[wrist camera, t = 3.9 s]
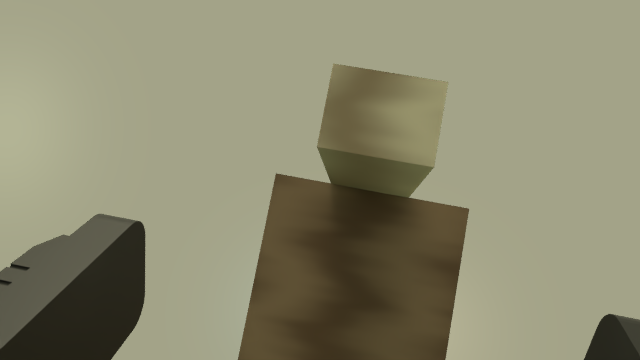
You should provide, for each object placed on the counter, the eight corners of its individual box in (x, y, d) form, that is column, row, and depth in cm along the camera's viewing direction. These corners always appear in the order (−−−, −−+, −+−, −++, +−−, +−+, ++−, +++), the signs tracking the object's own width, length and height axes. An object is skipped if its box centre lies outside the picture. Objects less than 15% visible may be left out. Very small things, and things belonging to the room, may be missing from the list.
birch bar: (317, 146, 18) (354, -43, 19) (338, 203, 38) (356, 108, 39) (434, 167, 18) (466, -27, 19) (395, 213, 38) (411, 117, 39)
